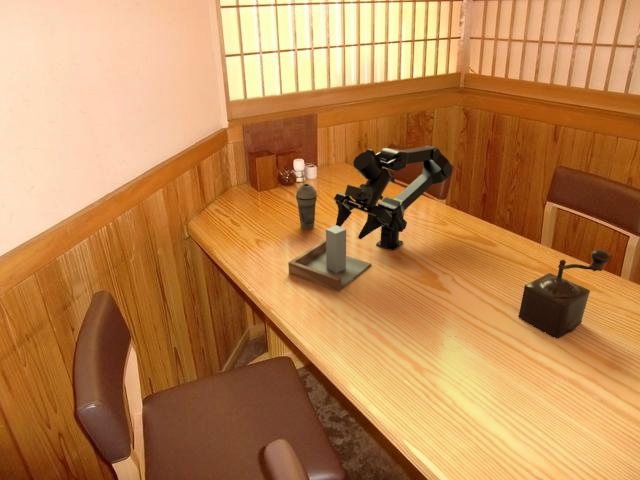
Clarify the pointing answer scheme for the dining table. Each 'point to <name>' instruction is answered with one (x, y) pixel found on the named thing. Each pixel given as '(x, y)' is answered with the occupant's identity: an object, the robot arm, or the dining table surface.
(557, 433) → the dining table surface
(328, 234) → the slate block
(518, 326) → the dining table surface
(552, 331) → the manual coffee grinder
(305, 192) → the beverage cup
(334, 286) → the tray
